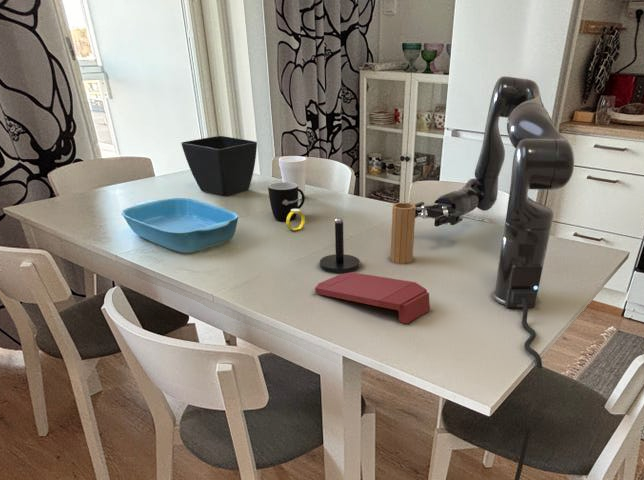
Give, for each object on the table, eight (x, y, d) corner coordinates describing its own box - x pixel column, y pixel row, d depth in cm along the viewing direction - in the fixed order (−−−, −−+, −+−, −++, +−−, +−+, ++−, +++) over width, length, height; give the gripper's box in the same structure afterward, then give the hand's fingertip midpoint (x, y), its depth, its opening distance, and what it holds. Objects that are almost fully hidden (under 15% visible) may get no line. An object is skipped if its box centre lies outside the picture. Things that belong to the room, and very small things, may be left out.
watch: (290, 233, 151) (289, 212, 148) (285, 231, 153) (283, 210, 150) (307, 228, 155) (306, 208, 152) (301, 226, 156) (300, 206, 153)
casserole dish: (113, 231, 150) (107, 207, 146) (181, 215, 164) (177, 192, 161) (185, 264, 130) (180, 236, 126) (256, 242, 144) (253, 216, 140)
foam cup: (278, 195, 186) (275, 157, 179) (303, 192, 189) (301, 155, 182) (286, 202, 179) (283, 162, 172) (311, 199, 182) (310, 160, 175)
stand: (360, 273, 127) (360, 224, 120) (319, 273, 126) (317, 224, 120) (359, 258, 135) (359, 211, 129) (320, 258, 135) (318, 211, 128)
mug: (281, 224, 158) (278, 190, 152) (265, 217, 163) (262, 185, 158) (313, 217, 164) (311, 184, 159) (296, 211, 170) (295, 179, 165)
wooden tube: (413, 263, 133) (416, 208, 125) (391, 263, 132) (393, 208, 125) (410, 255, 137) (414, 202, 130) (389, 255, 137) (391, 202, 130)
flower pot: (262, 188, 193) (258, 140, 184) (225, 200, 179) (219, 148, 170) (226, 181, 201) (219, 135, 192) (188, 192, 188) (179, 142, 179)
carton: (314, 307, 119) (401, 327, 103) (310, 286, 116) (399, 304, 101) (349, 290, 126) (435, 306, 111) (347, 271, 124) (434, 284, 109)
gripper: (432, 188, 149) (400, 200, 138) (476, 197, 141) (446, 210, 130) (430, 214, 153) (398, 227, 142) (473, 224, 145) (443, 239, 135)
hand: (421, 219), depth 136 cm, fingers open, 8 cm apart
